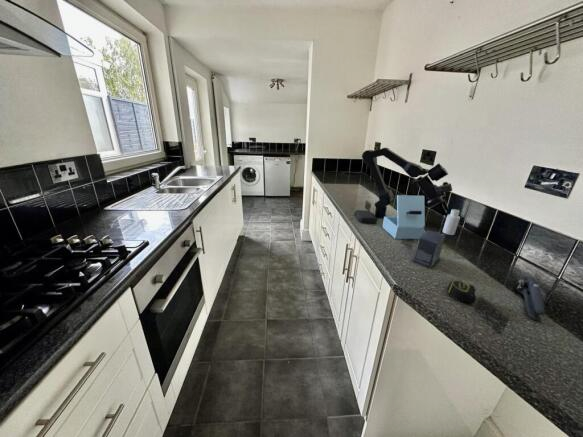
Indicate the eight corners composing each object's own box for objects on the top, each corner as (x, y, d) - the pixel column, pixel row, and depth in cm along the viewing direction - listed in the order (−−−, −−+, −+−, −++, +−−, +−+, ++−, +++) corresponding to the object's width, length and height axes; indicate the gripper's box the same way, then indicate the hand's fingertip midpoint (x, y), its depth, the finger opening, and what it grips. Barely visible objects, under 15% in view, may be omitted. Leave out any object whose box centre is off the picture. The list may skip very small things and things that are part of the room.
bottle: (440, 230, 117) (447, 208, 113) (449, 230, 118) (456, 208, 113) (447, 235, 113) (454, 212, 108) (456, 235, 113) (464, 212, 109)
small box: (421, 252, 95) (428, 229, 91) (439, 258, 91) (446, 234, 87) (412, 261, 88) (418, 236, 84) (430, 268, 84) (438, 243, 80)
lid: (397, 195, 105) (402, 194, 101) (423, 196, 106) (429, 194, 102) (397, 226, 104) (402, 226, 100) (423, 226, 105) (430, 226, 101)
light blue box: (382, 226, 119) (384, 216, 117) (405, 227, 120) (407, 216, 118) (395, 238, 106) (397, 227, 104) (420, 238, 107) (424, 227, 105)
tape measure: (472, 308, 66) (477, 297, 64) (445, 297, 70) (448, 287, 68) (473, 295, 71) (477, 285, 70) (447, 286, 75) (450, 276, 73)
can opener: (512, 285, 77) (519, 270, 75) (542, 294, 73) (550, 280, 70) (515, 314, 64) (524, 298, 62) (551, 328, 60) (561, 311, 58)
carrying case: (379, 224, 122) (371, 214, 135) (380, 219, 121) (372, 209, 134) (359, 223, 122) (353, 213, 135) (360, 218, 121) (354, 209, 134)
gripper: (442, 179, 103) (464, 208, 101) (445, 174, 117) (464, 199, 115) (418, 193, 110) (438, 220, 108) (424, 187, 124) (442, 211, 122)
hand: (447, 212), depth 113 cm, fingers open, 9 cm apart
